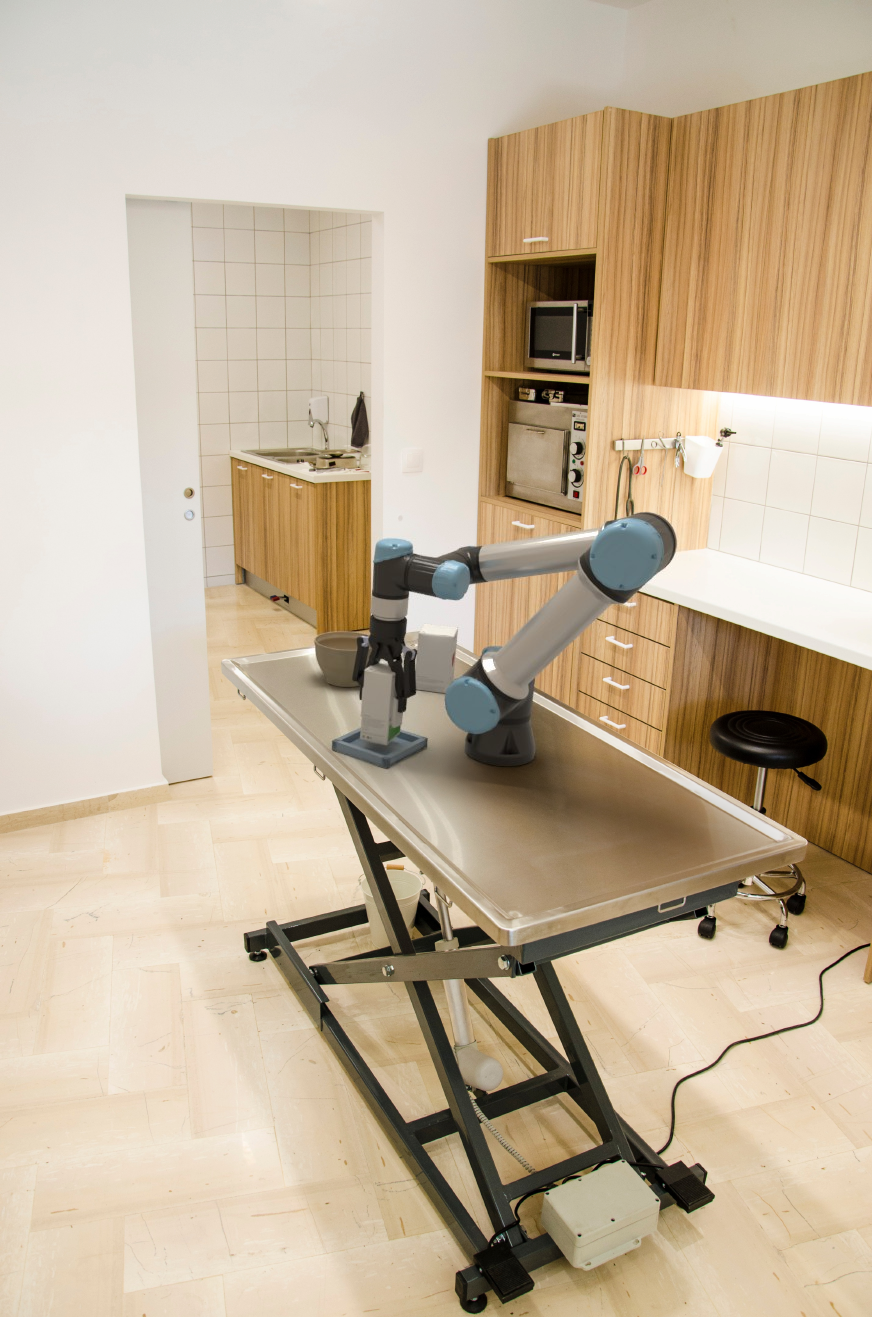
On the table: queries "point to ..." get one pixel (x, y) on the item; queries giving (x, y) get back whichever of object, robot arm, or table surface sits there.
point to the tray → (380, 748)
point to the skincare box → (378, 705)
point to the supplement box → (436, 657)
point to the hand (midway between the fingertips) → (381, 720)
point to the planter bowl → (338, 656)
